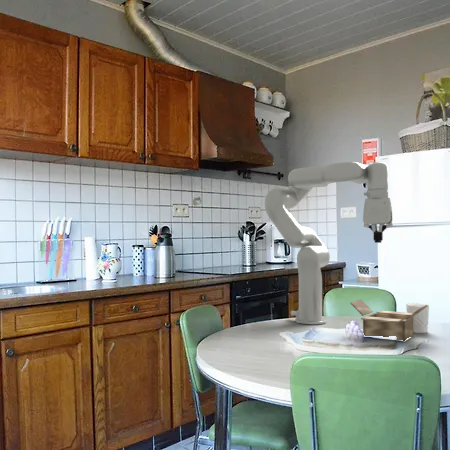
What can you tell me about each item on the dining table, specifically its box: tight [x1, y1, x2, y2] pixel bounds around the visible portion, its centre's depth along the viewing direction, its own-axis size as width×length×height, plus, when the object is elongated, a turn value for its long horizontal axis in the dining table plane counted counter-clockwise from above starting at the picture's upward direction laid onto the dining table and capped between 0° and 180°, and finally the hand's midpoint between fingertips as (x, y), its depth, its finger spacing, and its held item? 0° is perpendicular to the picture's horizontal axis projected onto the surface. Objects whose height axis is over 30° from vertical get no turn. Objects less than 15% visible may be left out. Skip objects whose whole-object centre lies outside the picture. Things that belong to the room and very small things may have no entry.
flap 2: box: [406, 304, 428, 320], centre depth 161 cm, size 1×11×6 cm
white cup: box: [405, 302, 430, 334], centre depth 177 cm, size 8×8×10 cm
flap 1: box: [350, 299, 374, 317], centre depth 172 cm, size 1×11×6 cm
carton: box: [360, 310, 415, 341], centre depth 166 cm, size 14×22×8 cm, turn 145°
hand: (378, 242), depth 181 cm, fingers closed
